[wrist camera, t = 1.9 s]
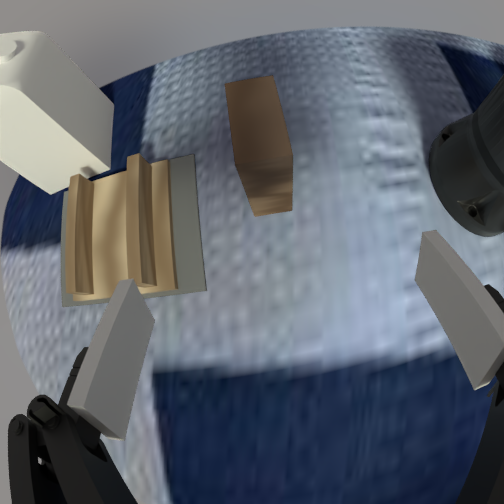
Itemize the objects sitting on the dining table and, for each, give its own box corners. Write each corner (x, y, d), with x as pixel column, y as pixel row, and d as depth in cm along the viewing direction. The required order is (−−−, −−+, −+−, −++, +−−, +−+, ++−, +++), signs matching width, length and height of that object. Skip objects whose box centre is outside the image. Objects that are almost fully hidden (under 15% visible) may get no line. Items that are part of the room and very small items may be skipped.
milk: (58, 131, 39) (-41, 45, 13) (114, 104, 38) (19, -11, 12) (50, 194, 36) (-81, 117, 11) (110, 169, 35) (-27, 50, 10)
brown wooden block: (279, 146, 33) (272, 75, 21) (292, 210, 31) (292, 155, 20) (245, 152, 33) (224, 83, 22) (254, 216, 32) (235, 164, 20)
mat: (194, 155, 34) (193, 153, 34) (206, 290, 31) (205, 290, 30) (65, 192, 36) (64, 192, 35) (63, 306, 33) (62, 306, 32)
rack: (170, 162, 34) (155, 144, 29) (178, 289, 31) (161, 285, 26) (79, 189, 35) (59, 177, 31) (78, 301, 32) (54, 299, 28)
